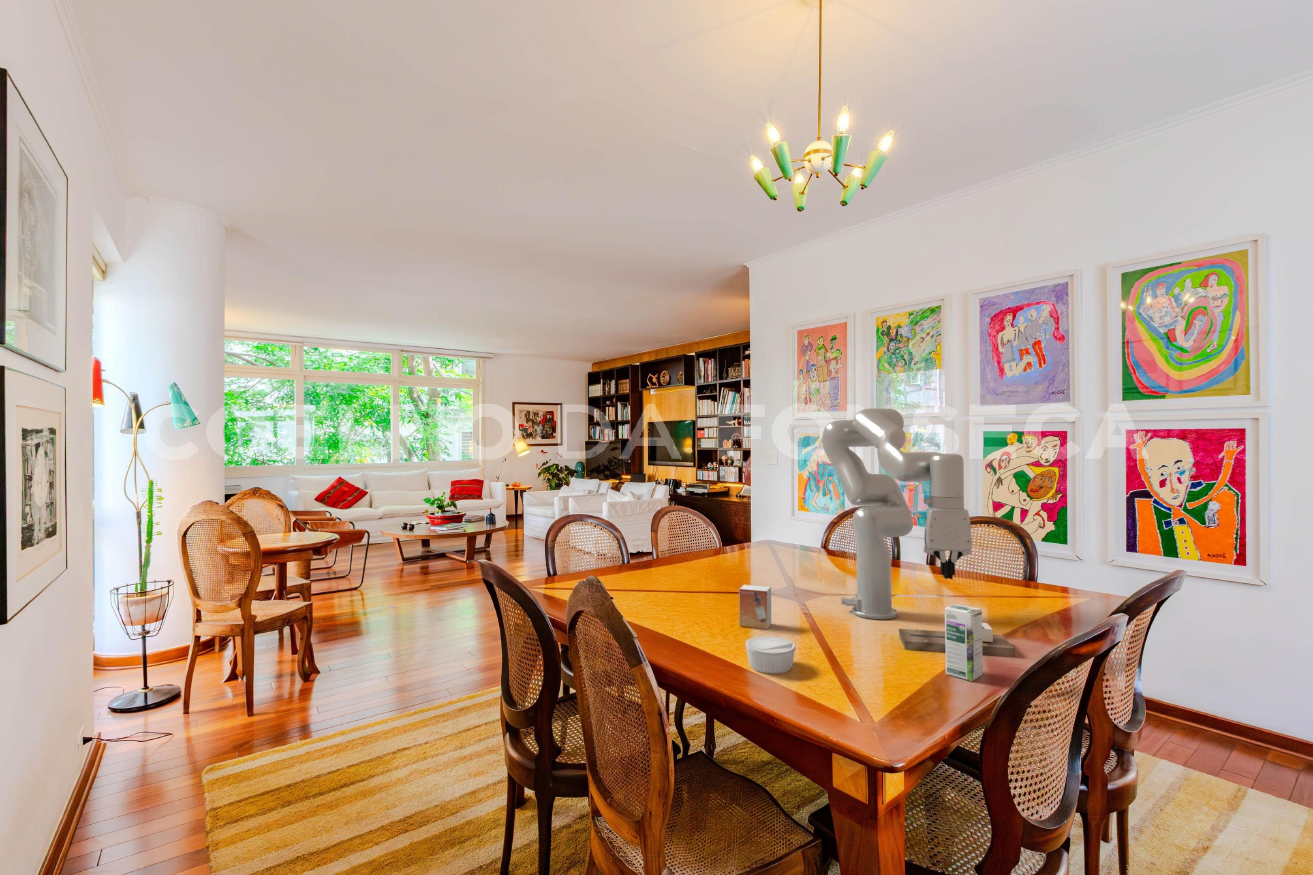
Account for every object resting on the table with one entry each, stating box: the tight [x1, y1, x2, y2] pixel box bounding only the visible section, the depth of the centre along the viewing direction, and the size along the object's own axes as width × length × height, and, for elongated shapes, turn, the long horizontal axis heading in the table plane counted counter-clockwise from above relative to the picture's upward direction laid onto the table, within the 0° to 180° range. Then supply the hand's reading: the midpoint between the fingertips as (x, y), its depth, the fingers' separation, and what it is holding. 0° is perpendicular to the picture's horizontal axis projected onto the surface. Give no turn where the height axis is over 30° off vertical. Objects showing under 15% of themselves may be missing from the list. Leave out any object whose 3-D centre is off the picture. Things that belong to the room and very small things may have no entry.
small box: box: [738, 584, 772, 630], centre depth 167 cm, size 8×6×10 cm
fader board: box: [898, 628, 1016, 658], centre depth 148 cm, size 24×10×2 cm, turn 76°
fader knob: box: [982, 622, 994, 642], centre depth 146 cm, size 4×5×3 cm
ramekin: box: [745, 635, 796, 675], centre depth 136 cm, size 11×11×5 cm
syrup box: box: [944, 603, 984, 682], centre depth 130 cm, size 6×6×14 cm
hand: (947, 577), depth 148 cm, fingers closed
